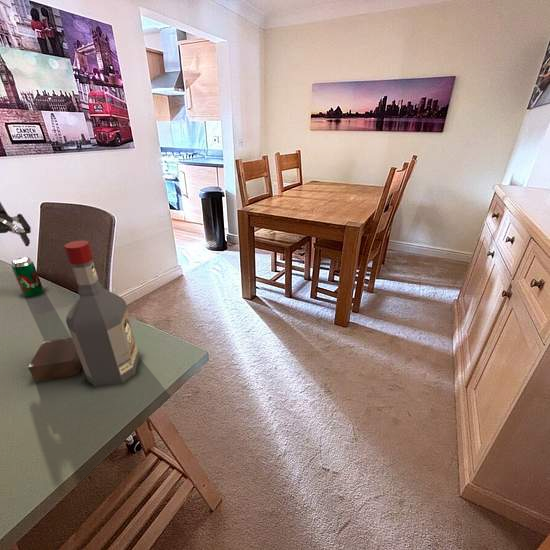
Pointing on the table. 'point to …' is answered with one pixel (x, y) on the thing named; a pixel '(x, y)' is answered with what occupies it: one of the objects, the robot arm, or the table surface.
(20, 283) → the soda can
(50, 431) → the table surface
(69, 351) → the stand
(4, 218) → the robot arm
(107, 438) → the table surface
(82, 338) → the liquor
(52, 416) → the table surface
